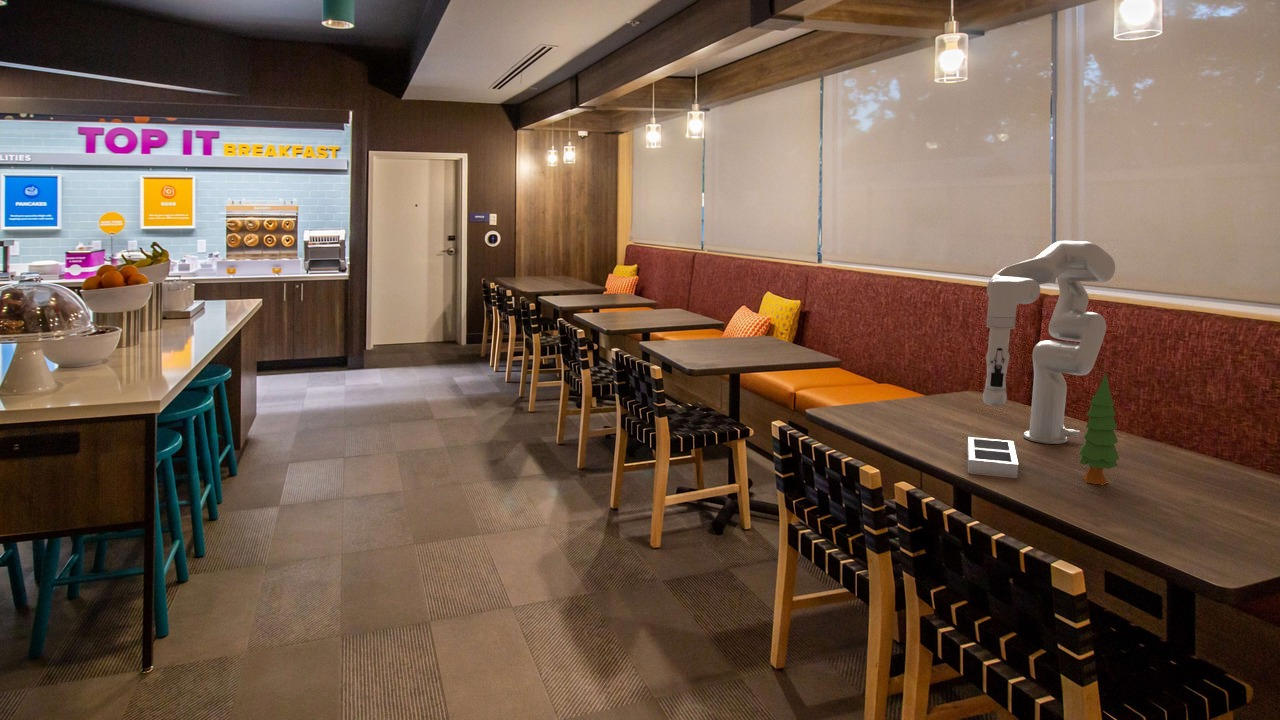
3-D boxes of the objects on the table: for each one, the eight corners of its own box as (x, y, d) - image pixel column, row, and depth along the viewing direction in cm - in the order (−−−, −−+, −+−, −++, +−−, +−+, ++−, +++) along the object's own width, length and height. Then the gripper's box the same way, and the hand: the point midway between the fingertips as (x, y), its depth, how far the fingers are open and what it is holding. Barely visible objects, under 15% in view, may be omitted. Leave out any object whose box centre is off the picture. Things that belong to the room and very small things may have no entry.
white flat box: (1012, 453, 250) (1013, 441, 249) (1017, 478, 228) (1018, 464, 227) (967, 449, 254) (968, 437, 254) (968, 473, 232) (969, 459, 232)
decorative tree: (1100, 475, 230) (1111, 369, 225) (1125, 486, 221) (1137, 376, 215) (1068, 477, 229) (1079, 370, 223) (1092, 489, 220) (1103, 377, 214)
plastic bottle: (1005, 403, 246) (1010, 336, 242) (1006, 409, 239) (1012, 340, 236) (981, 402, 248) (986, 335, 244) (982, 407, 241) (987, 338, 238)
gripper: (985, 318, 248) (981, 377, 252) (987, 326, 232) (982, 389, 236) (1013, 319, 246) (1008, 379, 249) (1017, 327, 230) (1011, 391, 233)
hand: (995, 383), depth 242 cm, fingers closed on plastic bottle, 5 cm apart
